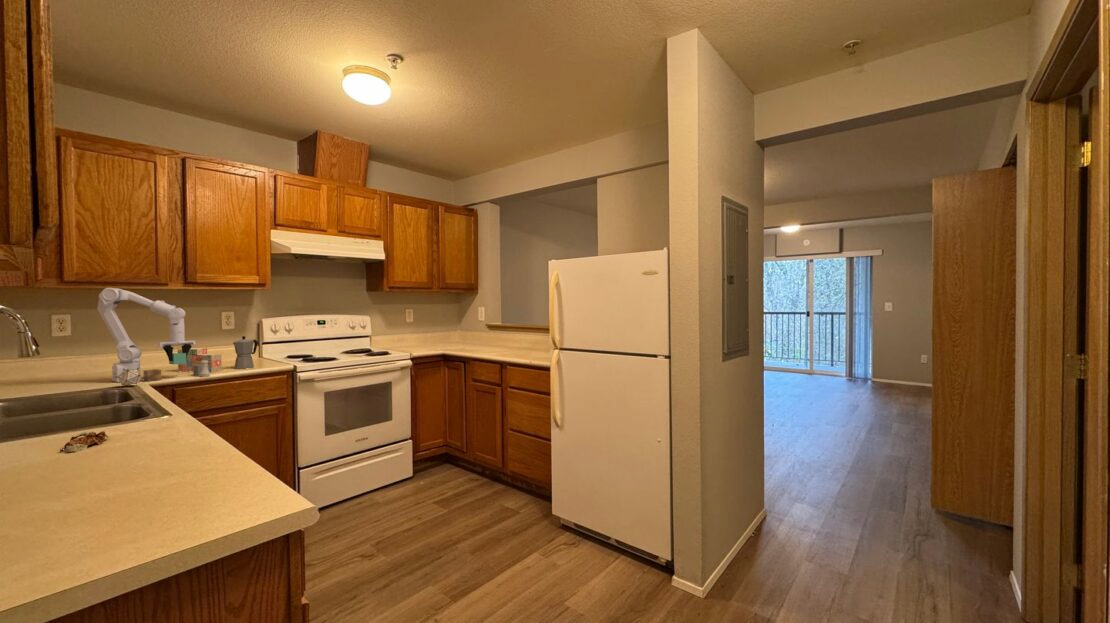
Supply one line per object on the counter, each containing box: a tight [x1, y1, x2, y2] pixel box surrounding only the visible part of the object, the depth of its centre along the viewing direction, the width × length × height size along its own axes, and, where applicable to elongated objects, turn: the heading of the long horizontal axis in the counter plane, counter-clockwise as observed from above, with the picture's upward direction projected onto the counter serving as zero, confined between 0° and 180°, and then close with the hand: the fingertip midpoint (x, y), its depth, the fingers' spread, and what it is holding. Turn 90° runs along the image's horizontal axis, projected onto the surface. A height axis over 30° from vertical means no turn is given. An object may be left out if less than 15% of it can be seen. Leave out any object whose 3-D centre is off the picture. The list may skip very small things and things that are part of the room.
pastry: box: [59, 430, 109, 455], centre depth 117 cm, size 7×12×4 cm, turn 30°
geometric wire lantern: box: [116, 368, 144, 386], centre depth 204 cm, size 9×8×10 cm
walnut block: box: [142, 368, 162, 383], centre depth 220 cm, size 5×5×5 cm
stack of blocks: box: [177, 347, 222, 373], centre depth 251 cm, size 21×6×12 cm, turn 79°
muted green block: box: [168, 352, 186, 366], centre depth 229 cm, size 5×5×5 cm
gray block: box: [192, 365, 211, 377], centre depth 238 cm, size 5×5×5 cm
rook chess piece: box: [199, 360, 211, 378], centre depth 232 cm, size 4×4×8 cm
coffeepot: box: [232, 335, 259, 370], centre depth 263 cm, size 15×9×18 cm, turn 165°
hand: (177, 360), depth 229 cm, fingers closed on muted green block, 5 cm apart
